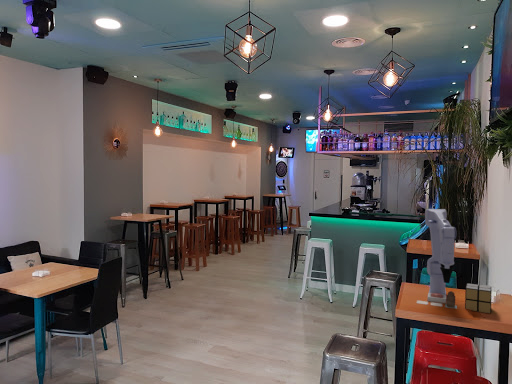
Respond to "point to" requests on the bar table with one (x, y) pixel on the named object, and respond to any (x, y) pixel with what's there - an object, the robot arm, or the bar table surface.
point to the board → (434, 304)
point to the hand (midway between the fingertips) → (446, 280)
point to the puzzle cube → (478, 298)
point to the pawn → (451, 299)
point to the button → (437, 295)
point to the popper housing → (436, 298)
